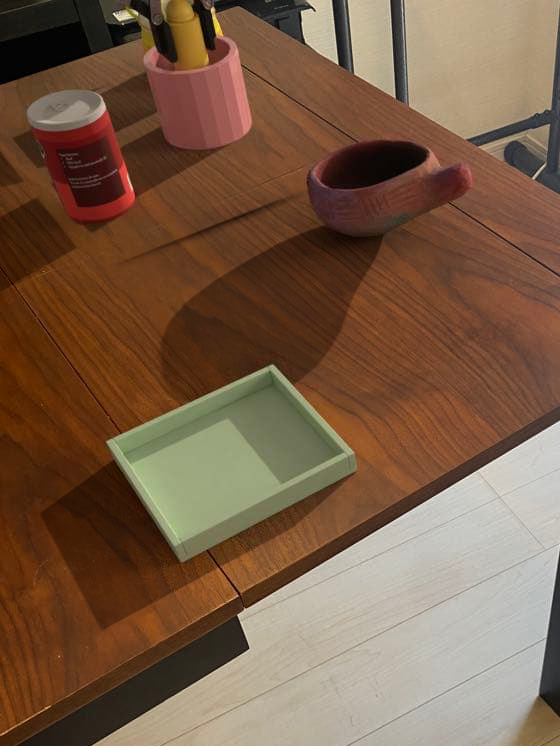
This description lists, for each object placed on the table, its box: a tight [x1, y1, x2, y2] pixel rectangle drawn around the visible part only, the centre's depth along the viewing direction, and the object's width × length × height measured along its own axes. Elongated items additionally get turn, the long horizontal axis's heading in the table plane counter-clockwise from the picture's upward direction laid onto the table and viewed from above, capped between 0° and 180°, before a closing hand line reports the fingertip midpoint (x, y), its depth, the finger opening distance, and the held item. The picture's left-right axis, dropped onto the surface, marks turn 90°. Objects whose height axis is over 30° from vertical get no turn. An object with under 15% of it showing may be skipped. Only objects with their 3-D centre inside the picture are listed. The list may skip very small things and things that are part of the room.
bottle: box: [164, 0, 210, 71], centre depth 96 cm, size 4×4×14 cm
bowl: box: [306, 138, 474, 238], centre depth 84 cm, size 16×13×8 cm
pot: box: [142, 35, 253, 151], centre depth 98 cm, size 11×11×9 cm
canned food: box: [25, 89, 136, 226], centre depth 88 cm, size 8×8×11 cm
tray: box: [105, 363, 358, 564], centre depth 66 cm, size 15×13×2 cm
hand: (188, 51), depth 95 cm, fingers closed on bottle, 4 cm apart
